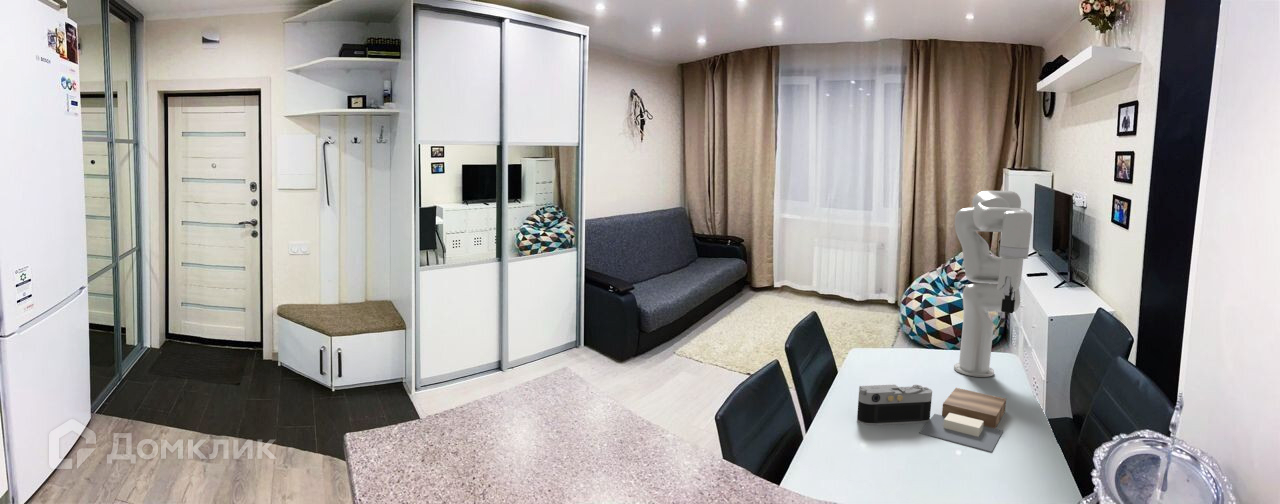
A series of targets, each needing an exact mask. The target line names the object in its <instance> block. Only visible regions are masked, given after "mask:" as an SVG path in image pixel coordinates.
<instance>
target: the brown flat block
mask: <svg viewBox="0 0 1280 504" xmlns="http://www.w3.org/2000/svg"><path fill="white" fill-rule="evenodd" d="M1006 405H1007V398H1005V397H1001V396H995V395H991V394H987V393H981V392H978V391H977V392H976V391H972V390H968V389H963V388H959V387H955V388H954V389H953V390H952V392H951V393H950V395H949V396H948V397H946V399H945V400H944V401H943V403H942V408H941V409H942V410H941V415H942V416H947V415H948V414H949V413H953V414H957V415H961V416H965V417H969V418H974V419H978V420H982V421H984V425H983V426H987V427H991V428H995V429H997V427H998V424H999V423H1000V421H1001V419H1002V417H1003V416H1004V414H1005V412H1006V407H1007V406H1006Z"/></svg>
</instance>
